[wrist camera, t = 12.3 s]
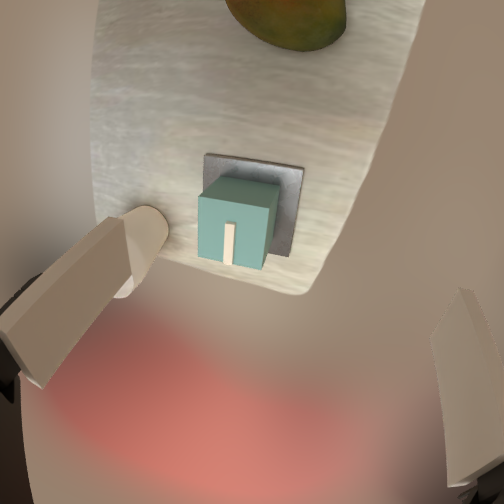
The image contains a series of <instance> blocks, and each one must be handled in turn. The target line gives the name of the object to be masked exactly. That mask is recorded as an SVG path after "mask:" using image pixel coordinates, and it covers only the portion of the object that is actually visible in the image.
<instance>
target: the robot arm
mask: <svg viewBox="0 0 504 504" xmlns="http://www.w3.org/2000/svg"><path fill="white" fill-rule="evenodd" d="M131 275H132V272H131V266H130V260H129V254H128V248H127V241H126V234H125V227H124V219H118V218H113V217H108V218H106V219H105V220H104V221H103V222H101V223H100V224H99V225H98V226H97V227H95V228H94V229H93V230H92V231H90V232H89V233H88V234H87V235H86V236H85V237H83V238H82V239H81V240H80V241H79V242H78V243H76V244H75V245H74V246H73V247H72V248H71V249H69V250H68V251H67V252H66V253H65V254H64V255H62V257H60V258H59V259H58V260H57V261H56V262H55V263H54V264H53V265H51V266H50V267H49V268H48V269H47V270H46V271H45V272H44V273H40V274H39V275H37V276H35V277H33V278H32V279H30V280H29V281H28V282H27V283H26V284H25V285H24V286H23V287H22V288H21V290H19V291H18V292H16V293H15V294H14V297H12V298H11V299H10V300H9V301H8V302H7V303H5V305H4V306H3V307H2V308H1V309H0V504H34V503H33V499H32V493H31V489H30V483H29V478H28V472H27V466H26V458H25V451H24V442H23V432H22V418H21V395H20V394H21V393H20V378H19V376H18V373H19V372H20V370H22V372H23V373H24V375H25V376H26V377H27V379H28V380H29V381H31V382H32V383H34V384H35V385H37V386H38V387H40V388H41V389H43V388H44V387H45V385H46V384H47V382H48V381H49V380H50V378H51V377H52V375H53V374H54V373H55V371H56V370H57V369H58V367H59V365H60V364H61V363H62V362H63V360H64V359H65V358H66V356H67V355H68V354H69V352H70V351H71V350H72V348H73V347H74V346H75V344H76V343H77V342H78V340H79V339H80V338H81V337H82V335H83V334H84V333H85V331H86V330H87V329H88V328H89V326H90V325H91V324H92V323H93V321H94V320H95V319H96V318H97V316H98V315H99V314H100V313H101V311H102V310H103V309H104V307H105V306H106V305H107V304H108V303H109V302H110V300H111V299H112V298H113V297H114V295H115V294H116V293H117V292H118V291H119V289H120V288H121V287H122V286H123V285H124V284H125V282H126V281H127V280H128V279H129V278H130V276H131ZM429 339H430V343H431V348H432V353H433V357H434V363H435V369H436V374H437V380H438V386H439V392H440V399H441V406H442V414H443V423H444V433H445V444H446V458H447V481H448V483H447V486H448V487H454V486H462V485H466V484H468V483H470V482H472V481H474V480H475V479H477V481H478V485H476V486H474V487H473V488H471V489H469V490H467V491H465V492H463V493H461V494H460V495H459V496H458V499H460V498H463V497H464V496H466V495H468V497H467V498H466V499H464V500H462V502H463V504H504V367H503V364H502V361H501V358H500V355H499V352H498V349H497V347H496V344H495V341H494V338H493V336H492V333H491V330H490V328H489V325H488V323H487V320H486V318H485V316H484V313H483V311H482V309H481V306H480V304H479V302H478V299H477V297H476V295H475V293H474V291H472V290H468V289H463V288H458V290H457V292H456V293H455V295H454V297H453V299H452V301H451V303H450V304H449V306H448V308H447V310H446V311H445V313H444V315H443V317H442V318H441V320H440V322H439V323H438V325H437V327H436V328H435V330H434V331H433V333H432V335H431V336H430V338H429Z"/></svg>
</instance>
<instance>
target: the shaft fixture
mask: <svg viewBox="0 0 504 504" xmlns="http://www.w3.org/2000/svg"><path fill="white" fill-rule="evenodd" d="M303 171H304V168H300V167H294V166H289V165H283V164H277V163H271V162H265V161H258V160H252V159H245V158H238V157H230V156H222V155H214V154H206V155H204V169H203V192H204V191H205V190H206V189H207V188H208V187H209V186H210V185H211V184H212V183H213V182H214V181H215V180H216V179H218V178H219V177H220V176H223V177H230V178H236V179H243V180H249V181H255V182H261V183H267V184H273V185H278V186H280V190H279V197H278V205H277V212H276V219H275V226H274V233H273V240H272V243H271V245H270V248H269V251H268V253H270V254H275V255H280V256H285V257H289V253H290V248H291V242H292V237H293V231H294V225H295V219H296V213H297V208H298V202H299V196H300V189H301V183H302V177H303Z"/></svg>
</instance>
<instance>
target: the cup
mask: <svg viewBox="0 0 504 504" xmlns="http://www.w3.org/2000/svg"><path fill="white" fill-rule="evenodd" d="M118 219H124V227H125V234H126V241H127V248H128V254H129V260H130V266H131V272H132V275H131V276H130V278H129V279H128V280H127V281H126V282H125V284H124V285H123V286H122V287H121V288H120V289H119V291H118V292H117V293H116V294H115V295H114V298H124V297H127V296H128V295H129V294H130V293H131V292H132V291H133V290H134V289H135V288H136V287H137V286H138V285H139V284H140V283H141V282H142V281H143V279H144V278H145V276H146V274H147V272H148V270H149V269H150V267H151V265H152V263H153V262H154V260H155V258H156V256H157V254H158V253H159V251H160V249H161V247H162V246H163V244H164V242H165V240H166V239H167V237H168V232H169V230H168V224H167V222H166V220H165V218H164V216H163V215H162V214H161V213H160V212H159V211H158V210H156V209H155V208H153V207H150V206H139V207H137V208H135V209H133V210H132V211H130V212H128V213H126V214H124V215H122V216H120V217H118Z"/></svg>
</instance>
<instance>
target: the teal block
mask: <svg viewBox="0 0 504 504" xmlns="http://www.w3.org/2000/svg"><path fill="white" fill-rule="evenodd" d="M279 190H280V186H278V185H273V184H267V183H261V182H255V181H249V180H243V179H236V178H230V177H223V176H220V177H219V178H218V179H216V180H215V181H214V182H213V183H212V184H211V185H210V186H209V187H208V188H207V189H206V190H205V191H204V192H203V193H201V194H200V195H199V196H198V257H202V258H207V259H211V260H216V261H221V262H223V264H226V265H231V266H232V264H235V265H239V266H244V267H249V268H253V269H258V270H262V267H263V264H264V262H265V259H266V256H267V253H268V251H269V248H270V245H271V243H272V240H273V233H274V226H275V219H276V212H277V205H278V197H279Z"/></svg>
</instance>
